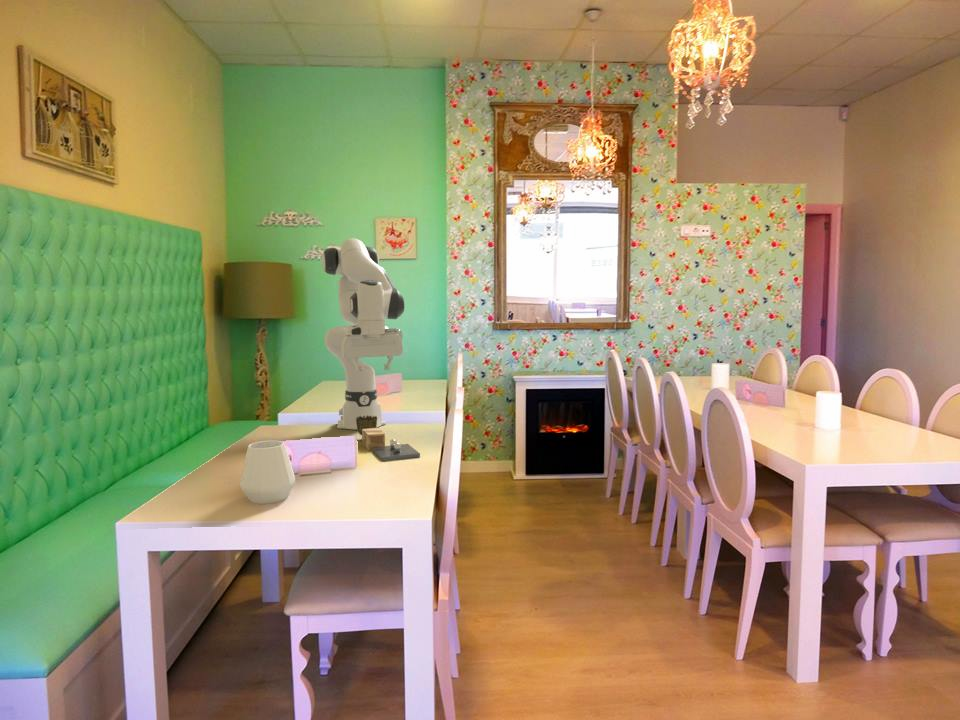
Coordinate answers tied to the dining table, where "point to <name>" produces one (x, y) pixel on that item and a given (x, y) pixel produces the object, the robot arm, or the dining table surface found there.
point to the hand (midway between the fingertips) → (373, 370)
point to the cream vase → (267, 472)
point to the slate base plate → (395, 456)
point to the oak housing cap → (373, 438)
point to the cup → (366, 423)
